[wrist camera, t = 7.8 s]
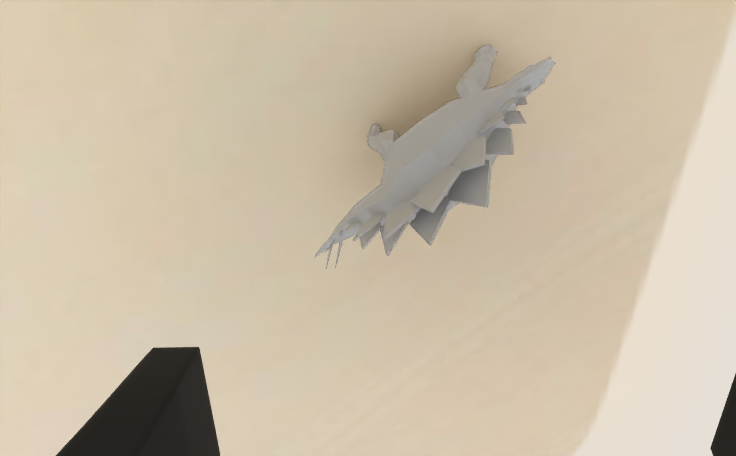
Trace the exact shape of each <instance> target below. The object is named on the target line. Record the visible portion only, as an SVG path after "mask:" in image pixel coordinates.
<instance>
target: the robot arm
mask: <svg viewBox="0 0 736 456" xmlns="http://www.w3.org/2000/svg"><path fill="white" fill-rule="evenodd" d="M711 451H712V453H713V456H736V375H735V377H734V380H733V383H732V386H731V389H730V392H729V395H728V398H727V401H726V404H725V407H724V410H723V413H722V416H721V419H720V422H719V424H718V427H717V430H716V434H715V436H714V439H713V442H712V445H711ZM56 456H220V451H219V446H218V441H217V436H216V431H215V425H214V420H213V415H212V410H211V405H210V400H209V395H208V390H207V385H206V379H205V374H204V369H203V364H202V359H201V354H200V349H199V347H175V348H153V349H152V350H151V351H150V352H149V353H148V354H147V355H146V356H145V357H144V358H143V359H142V360H141V362H140V363H139V364H138V365H137V366H136V367H135V368H134V369H133V371H132V372H131V373H130V374H129V375H128V376H127V377H126V378H125V380H124V381H123V382H122V383H121V384H120V385H119V386H118V388H117V389H116V390H115V391H114V392H113V393H112V394H111V396H110V397H109V398H108V399H107V400H106V401H105V402H104V403H103V405H102V406H101V407H100V408H99V409H98V410H97V411H96V412H95V413H94V415H93V416H92V417H91V418H90V419H89V420H88V421H87V422H86V424H85V425H84V426H83V427H82V428H81V429H80V430H79V431H78V432H77V433H76V435H75V436H74V437H73V438H72V439H71V440H70V441H69V442H68V443H67V444H66V445H65V446H64V447H63V448H62V450H61V451H60V452H59V453H58V454H57V455H56Z"/></svg>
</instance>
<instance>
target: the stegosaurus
mask: <svg viewBox="0 0 736 456" xmlns="http://www.w3.org/2000/svg"><path fill="white" fill-rule="evenodd" d="M497 53H498V52H497V51H496V50H495V49H494V48H493V47H492V46H491V45H486V46H483V47H481V48H480V49H479V50H478V51H477V52H476V53H475V54H474V57H475V61H474V63H473V64H472V65H471V66H470V67H469V68H468V70H467V71H466V72H465V73H464V74H463V75H462V77H461V78H460V80H459V82H458V83H457V85H456V87H455V89H456V91H457V93H458V95H459V97H460V98H458V99H455V100H452V101H450V102H448V103H447V104H445V105H444V106H442V107H441V108H439V109H437V110H436V111H434V112H433V113H431V114H430V115H428V116H426V117H425V118H423V119H422V120H420V121H419V122H417V123H416V124H415V125H414V126H413V127H411V128H410V129H409V130H408V131H407V132H405V133H404V134H403V135H402V136H399V135H398V133H397V132H396V131H395V130H394V129H390V130H387V131H383V132H381V133H380V130H381V128H380V127H379V126H378V125H377V124H376V125H373V126H372V127H371V130H370V132H369V134H368V140H367V142H368V146H369V147H370V148H371V149H373V150H375V151H377V152H379V153H380V154H381V157H382V158H383V160H384V162H385V165H384V170H383V174H382V179H381V184H380V185H379V186H378V187H376V188H375V189H374V190H373V191H372V192H370V193H369V194H368V195H367V196H365V197H364V198H363V199H362V200H361V201H360V202H358V203H357V204H356V205H355V206H354V207H353V208H352V209H351V210H350V211H349V213H348V214H347V215H346V216H345V217H344V219H343V220H342V221H341V222H340V223H339V224H338V226H337V227H336V228H335V230H334V232H333V233H332V235H331V236H330V238H329V239H328V240H327V241H326V242H325V243H324V245H323V246H322V247H321V248H320V250H319V251H318V253H317V254H316V255H315V257H316V256H318V255H319V254H320V253H322V252H323V251H324V250H326V249H327V250H328V249H329V248H330V249H329V254H328V260H327V264H328V261H329V257H330V253H331V250H332V246H333V245H334V244H336V243H338V242H340V243H339V249H338V255H337V260H338V257H339V253H340V249H341V246H342V242H343V240H345V239H347V238H349V237H351V236H353V235H355V234H356V236H355V238H354V239H353V241H355V240H356V239H358V238H359V237H360V240H361V245H362V249H364V248H365V247H366V246H367V245H368V243H369V242H370V241H371V240H372V239H373V237H374V236H375V235H376V234H377V233H378V232H379V230H380V231H381V235H382V239H383V243H384V247H385V251H386V255H387V256H389V254H390V252H391V251H392V249H393V247H394V246H395V244H396V242H397V241H398V239H399V237H400V236H401V234H402V232H403V231H404V229H405V227H406V226H407V224H408V221H411V222H410V223H409V224H410V225H411V226H412V227H413V228H414V229H415V230H416V232H417V233H418V234H419V235H420V236H421V237H422V238H423V239H424V240H425V241H426V242H427V243H428V244H429V245H430V246H431V244H432V242H433V240H434V238H435V236H436V234H437V232H438V230H439V228H440V226H441V224H442V222H443V220H444V218H445V216H446V214H447V212H448V211H449V210H450V209H452V208H453V207H454V206H456V205H457V204H458V203H463V204H470V205H476V206H482V207H488V201H489V188H490V175H491V165H492V164H493V162H494V160H495V158H496V157H497V155H512V154H514V150H513V139H512V130H511V128H509V126H510V124H517V123H526V122H525V120H524V119H523V117H522V115H521V113H520V112H519V111H515V110H516V107H517V105H524V104H527V102H526V99H525V97H526V96H528V95H529V94H530V93H531V92H532V91H533V90H535V89H536V88H537V87H538V86H540V85H541V84H543V83H544V82H545V78H546V77H547V75H548V74H549V72H550V70H551V69H552V67H553V66H554V64H555V62H554V61H553V59H552V58H551V57H549V58H547V59H545V60H543V61H541V62H539V63H537V64H535V65H531V66H529V67H528V68H526V69H525V70H523V71H521V72H520V73H518V74H517V75H515V76H514V77H513V78H511V79H510V80H509V81H507V82H506V83H504V84H503V85H499V86H495V87H492V88H488V89H485V88H486V85H487V83H488V80H489V77H490V72H491V68H492V65H493V59H494V57H495V56H496V54H497ZM381 226H382V227H381ZM327 250H326V251H327ZM326 251H325V252H326ZM315 257H314V258H315ZM336 264H337V261H336ZM326 268H327V266H326ZM335 268H336V267H335Z"/></svg>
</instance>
